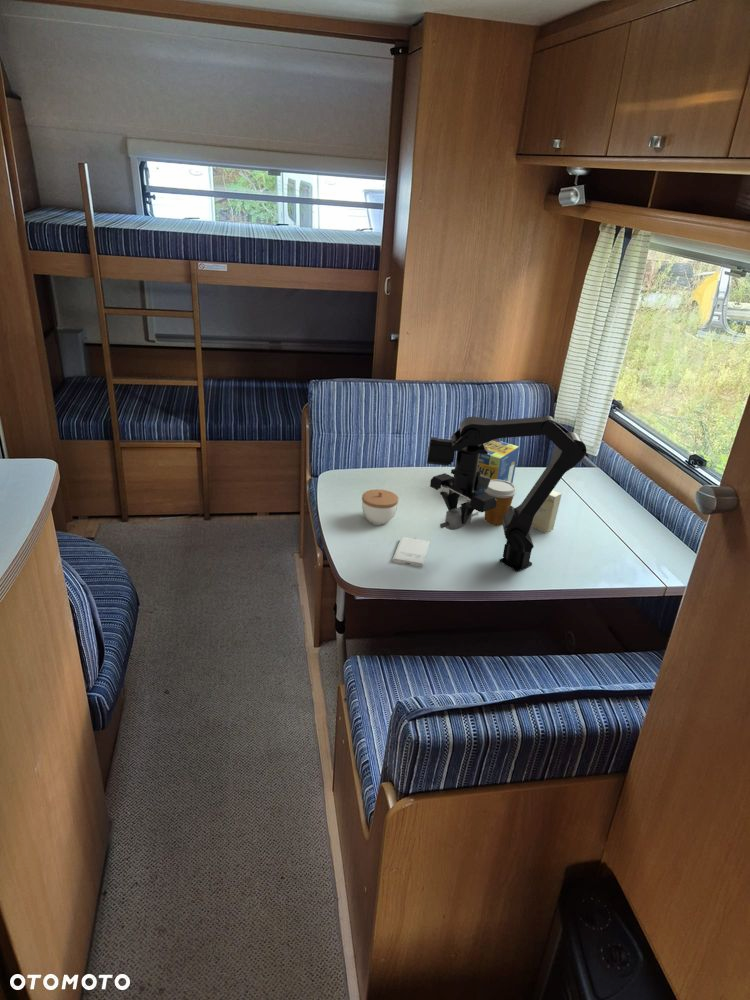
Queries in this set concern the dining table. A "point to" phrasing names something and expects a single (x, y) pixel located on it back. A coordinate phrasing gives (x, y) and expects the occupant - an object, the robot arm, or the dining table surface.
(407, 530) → the dining table surface
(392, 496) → the lidded jar
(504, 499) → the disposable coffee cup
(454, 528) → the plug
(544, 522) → the skincare box
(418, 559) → the external hard drive
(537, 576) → the dining table surface
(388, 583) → the dining table surface
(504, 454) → the protein box
